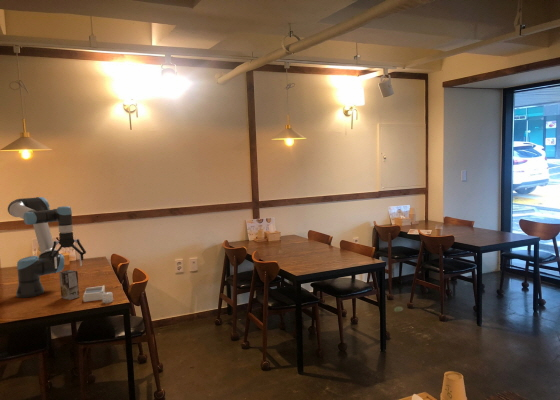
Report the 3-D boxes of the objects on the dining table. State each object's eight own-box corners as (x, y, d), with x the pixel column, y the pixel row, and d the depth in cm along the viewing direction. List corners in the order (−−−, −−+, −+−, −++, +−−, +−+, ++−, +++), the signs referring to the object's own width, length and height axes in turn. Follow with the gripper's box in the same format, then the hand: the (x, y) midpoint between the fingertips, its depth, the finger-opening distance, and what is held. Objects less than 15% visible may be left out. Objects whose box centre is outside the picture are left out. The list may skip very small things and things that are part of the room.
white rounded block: (102, 303, 247) (101, 295, 247) (102, 301, 253) (102, 292, 252) (112, 302, 249) (112, 294, 249) (113, 299, 254) (112, 291, 254)
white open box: (83, 301, 252) (82, 293, 252) (85, 295, 265) (85, 287, 265) (103, 299, 256) (103, 291, 255) (105, 292, 269) (104, 285, 268)
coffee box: (79, 297, 262) (77, 270, 261) (70, 300, 256) (68, 273, 255) (70, 295, 267) (68, 269, 265) (60, 298, 261) (58, 271, 260)
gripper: (41, 234, 251) (44, 270, 253) (88, 231, 259) (90, 265, 261) (43, 233, 258) (46, 267, 260) (89, 229, 266) (91, 263, 268)
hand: (68, 267), depth 260 cm, fingers open, 13 cm apart
